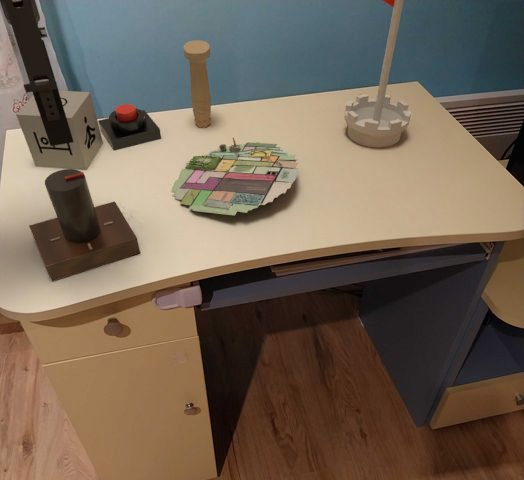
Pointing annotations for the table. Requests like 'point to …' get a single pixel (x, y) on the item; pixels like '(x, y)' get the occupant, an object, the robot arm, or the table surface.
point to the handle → (199, 80)
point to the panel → (85, 244)
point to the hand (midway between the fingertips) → (55, 117)
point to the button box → (129, 130)
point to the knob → (73, 205)
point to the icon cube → (80, 126)
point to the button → (126, 112)
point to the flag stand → (379, 102)
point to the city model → (235, 178)
